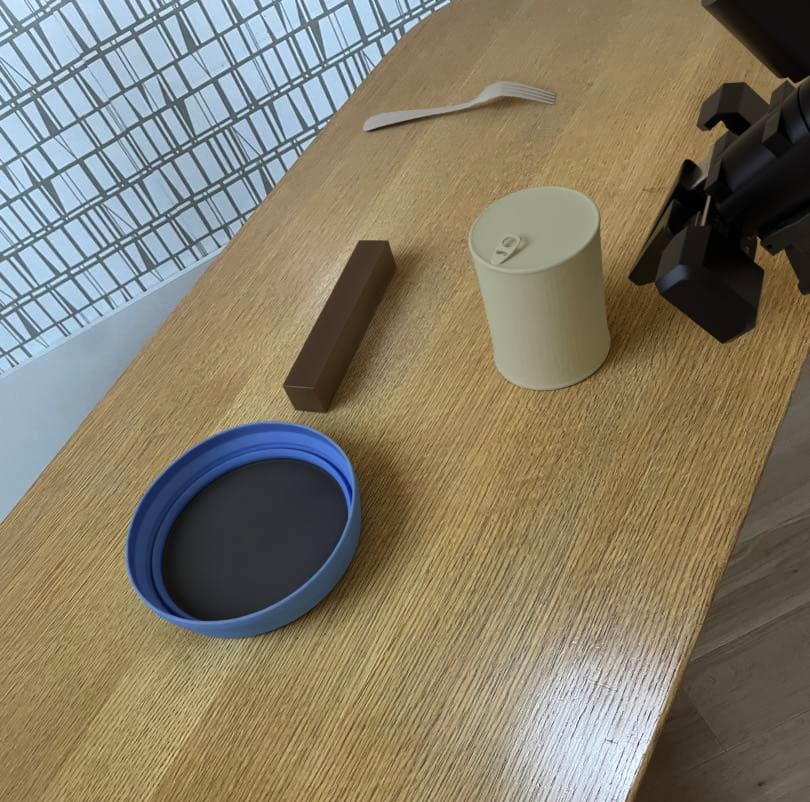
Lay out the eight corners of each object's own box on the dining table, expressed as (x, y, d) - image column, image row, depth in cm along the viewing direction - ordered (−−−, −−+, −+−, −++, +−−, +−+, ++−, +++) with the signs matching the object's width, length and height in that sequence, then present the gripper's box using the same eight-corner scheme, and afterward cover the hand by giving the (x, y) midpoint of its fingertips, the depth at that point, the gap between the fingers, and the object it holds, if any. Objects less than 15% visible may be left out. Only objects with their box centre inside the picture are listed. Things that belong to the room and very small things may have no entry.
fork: (374, 139, 95) (365, 116, 93) (555, 91, 87) (549, 66, 85) (369, 154, 94) (360, 131, 92) (553, 107, 86) (547, 81, 84)
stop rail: (397, 266, 78) (388, 239, 75) (326, 413, 70) (314, 388, 67) (368, 266, 79) (358, 239, 77) (294, 410, 71) (281, 385, 68)
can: (471, 365, 68) (439, 243, 59) (540, 295, 71) (521, 166, 61) (563, 407, 63) (544, 281, 54) (634, 330, 66) (628, 197, 56)
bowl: (383, 438, 66) (370, 408, 64) (353, 644, 57) (337, 619, 54) (179, 457, 71) (158, 430, 68) (119, 651, 61) (92, 628, 58)
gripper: (920, 327, 44) (694, 441, 57) (930, 117, 53) (732, 257, 66) (774, 198, 41) (570, 350, 54) (811, -3, 50) (627, 169, 63)
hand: (633, 279), depth 59 cm, fingers closed
